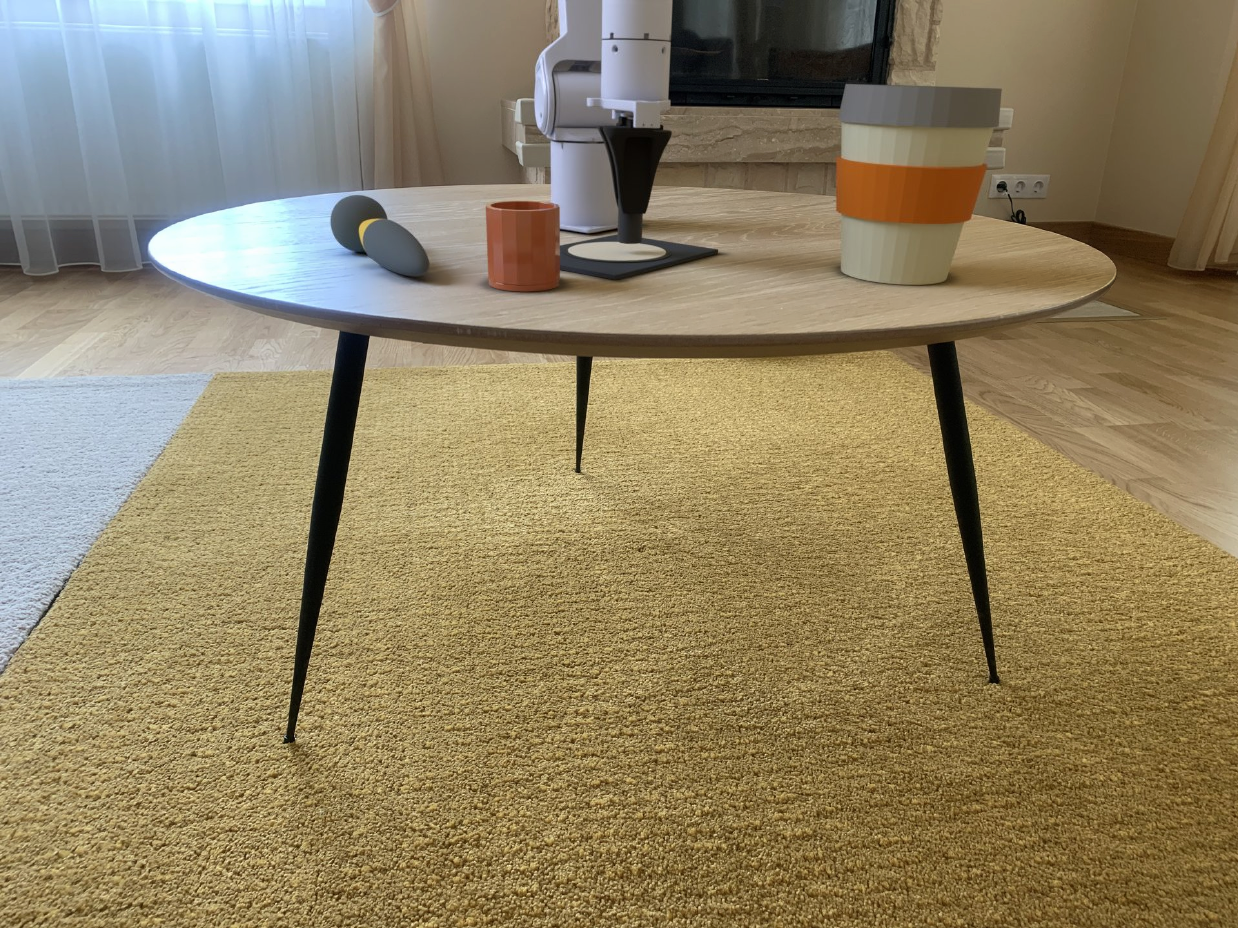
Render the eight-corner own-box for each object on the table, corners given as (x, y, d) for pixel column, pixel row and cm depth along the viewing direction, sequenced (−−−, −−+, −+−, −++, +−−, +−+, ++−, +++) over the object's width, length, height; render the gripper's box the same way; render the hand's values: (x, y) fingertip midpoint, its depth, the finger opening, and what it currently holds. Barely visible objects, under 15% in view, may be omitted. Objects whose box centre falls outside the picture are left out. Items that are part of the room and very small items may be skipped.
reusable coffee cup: (994, 290, 70) (1035, 90, 64) (842, 288, 70) (869, 85, 64) (935, 260, 82) (965, 87, 76) (804, 258, 81) (824, 83, 75)
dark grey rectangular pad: (618, 238, 89) (618, 232, 89) (718, 253, 82) (718, 247, 82) (508, 260, 77) (508, 253, 77) (615, 280, 71) (615, 273, 70)
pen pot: (522, 273, 72) (521, 198, 70) (574, 283, 69) (574, 205, 67) (473, 284, 68) (470, 205, 66) (525, 295, 65) (524, 213, 63)
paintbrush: (467, 278, 70) (464, 214, 68) (410, 286, 67) (404, 219, 65) (367, 241, 84) (362, 188, 82) (316, 246, 81) (309, 191, 79)
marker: (627, 239, 80) (629, 134, 76) (647, 242, 78) (651, 136, 75) (611, 242, 78) (613, 135, 74) (632, 245, 77) (635, 137, 73)
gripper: (580, 42, 78) (579, 199, 83) (597, 36, 65) (595, 223, 70) (657, 45, 79) (651, 200, 84) (690, 39, 65) (681, 224, 71)
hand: (631, 211), depth 77 cm, fingers closed on marker, 2 cm apart
